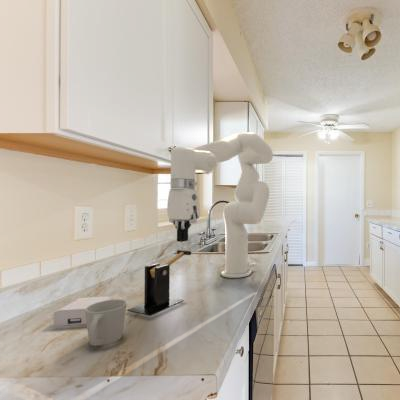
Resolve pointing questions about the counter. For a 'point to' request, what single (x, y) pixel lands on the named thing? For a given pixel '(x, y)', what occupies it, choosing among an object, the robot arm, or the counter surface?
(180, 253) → the tap lever
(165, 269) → the bracket
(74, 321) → the charger
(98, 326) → the cup
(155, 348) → the counter surface
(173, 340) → the counter surface
